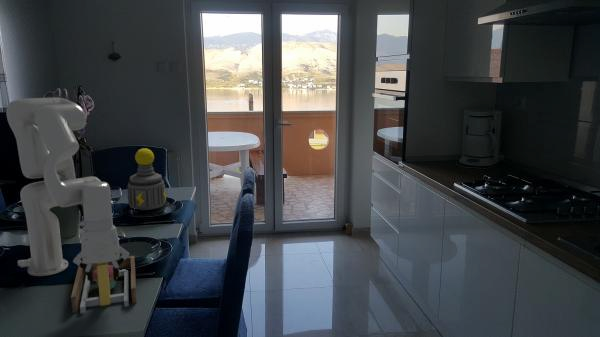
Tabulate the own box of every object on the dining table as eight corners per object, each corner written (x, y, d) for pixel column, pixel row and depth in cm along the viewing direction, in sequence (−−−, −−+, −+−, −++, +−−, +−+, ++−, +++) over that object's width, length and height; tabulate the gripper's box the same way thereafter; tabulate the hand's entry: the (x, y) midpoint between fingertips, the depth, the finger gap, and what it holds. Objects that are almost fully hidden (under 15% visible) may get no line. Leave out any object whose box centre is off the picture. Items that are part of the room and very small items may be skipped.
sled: (80, 313, 132) (76, 272, 129) (86, 280, 153) (83, 243, 150) (128, 306, 137) (125, 266, 134) (128, 274, 157) (126, 239, 155)
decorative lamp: (160, 211, 226) (156, 152, 219) (122, 210, 226) (118, 151, 220) (171, 200, 244) (168, 145, 238) (136, 199, 245) (132, 144, 238)
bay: (72, 312, 133) (70, 297, 132) (80, 276, 156) (79, 262, 155) (136, 302, 139) (135, 287, 138) (135, 269, 162) (134, 255, 161)
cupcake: (103, 295, 143) (100, 260, 140) (87, 288, 147) (83, 254, 145) (126, 285, 150) (124, 251, 147) (110, 278, 154) (107, 245, 152)
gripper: (64, 231, 127) (70, 290, 130) (130, 225, 132) (134, 281, 136) (67, 222, 133) (73, 279, 137) (130, 217, 139) (133, 271, 143)
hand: (103, 280), depth 137 cm, fingers open, 5 cm apart
